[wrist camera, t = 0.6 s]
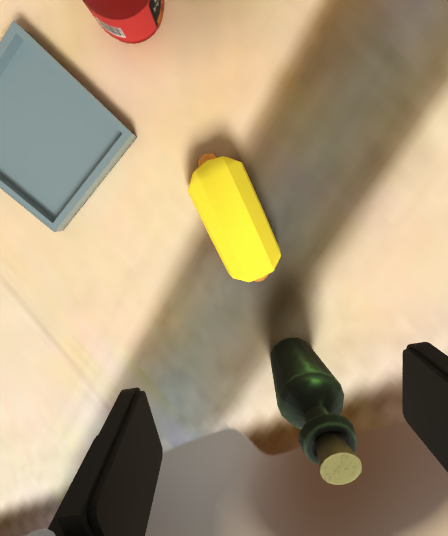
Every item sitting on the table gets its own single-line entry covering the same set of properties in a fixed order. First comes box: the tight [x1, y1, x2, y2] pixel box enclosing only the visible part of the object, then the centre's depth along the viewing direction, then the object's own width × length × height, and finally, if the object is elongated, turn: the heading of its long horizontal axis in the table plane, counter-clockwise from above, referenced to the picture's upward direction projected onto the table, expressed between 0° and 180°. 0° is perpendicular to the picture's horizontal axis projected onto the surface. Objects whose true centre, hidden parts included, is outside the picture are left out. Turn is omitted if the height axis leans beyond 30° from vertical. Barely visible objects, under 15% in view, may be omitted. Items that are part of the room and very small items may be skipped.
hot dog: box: [188, 154, 281, 282], centre depth 33 cm, size 18×7×8 cm
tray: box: [0, 21, 137, 232], centre depth 32 cm, size 16×16×2 cm
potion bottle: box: [271, 338, 362, 485], centre depth 33 cm, size 8×8×18 cm
